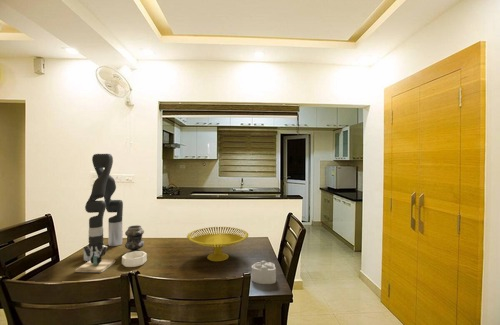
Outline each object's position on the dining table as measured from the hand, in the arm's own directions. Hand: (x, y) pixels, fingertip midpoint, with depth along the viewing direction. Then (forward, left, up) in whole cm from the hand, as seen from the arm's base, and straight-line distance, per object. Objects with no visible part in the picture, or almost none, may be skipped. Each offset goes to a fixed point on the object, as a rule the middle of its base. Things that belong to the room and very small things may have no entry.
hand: (96, 262), depth 154 cm
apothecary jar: (-23, +12, -3) cm, 27 cm away
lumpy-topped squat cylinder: (+12, +99, -3) cm, 100 cm away
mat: (0, 0, -2) cm, 2 cm away
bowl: (-6, +20, -2) cm, 21 cm away
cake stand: (-18, +70, -3) cm, 72 cm away
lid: (0, 0, -2) cm, 2 cm away
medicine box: (-11, -10, -3) cm, 15 cm away
